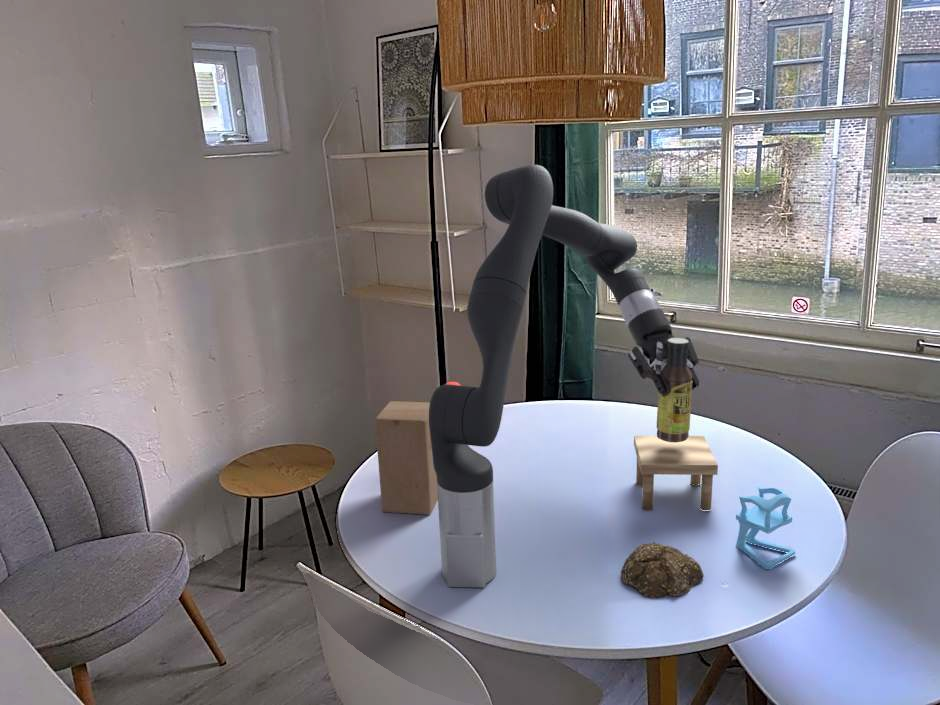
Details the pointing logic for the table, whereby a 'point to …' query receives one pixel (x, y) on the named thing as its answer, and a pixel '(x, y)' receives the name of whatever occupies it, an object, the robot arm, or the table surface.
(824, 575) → the table surface
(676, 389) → the sauce bottle
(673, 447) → the small wooden side table
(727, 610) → the table surface
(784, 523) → the chair
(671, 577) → the bread roll
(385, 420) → the wooden block
